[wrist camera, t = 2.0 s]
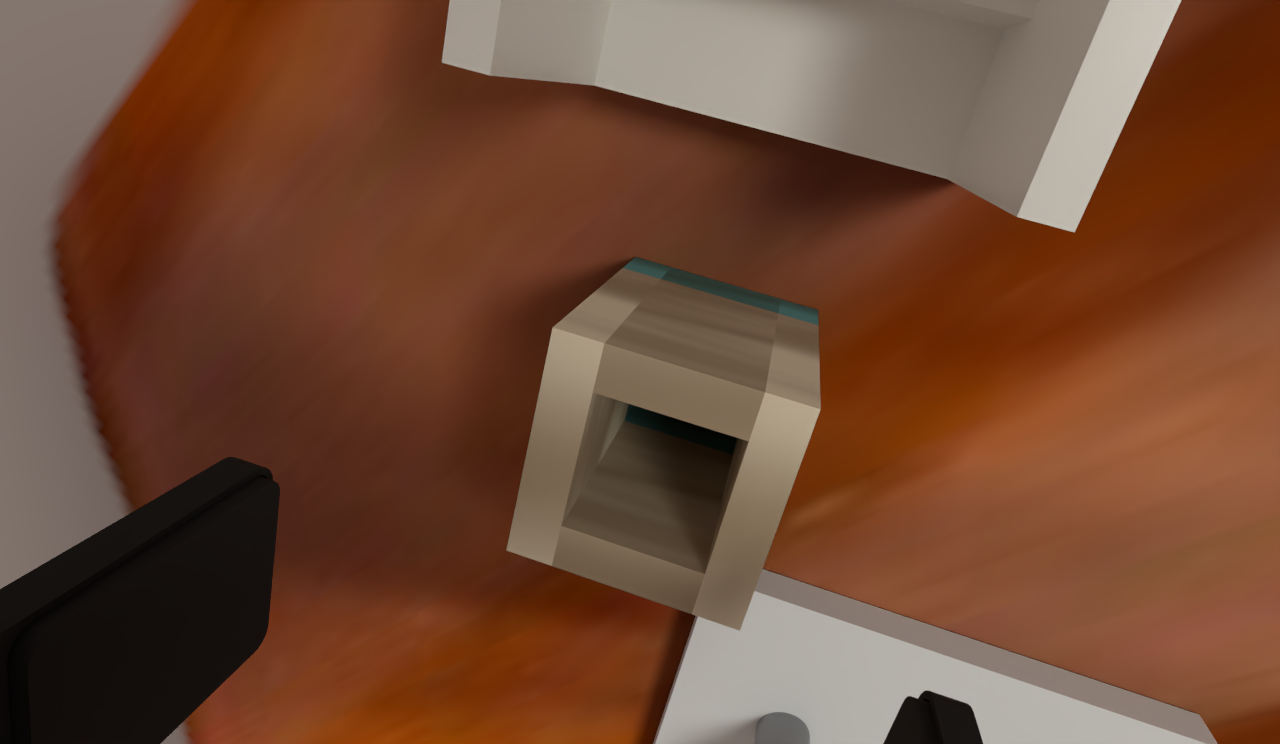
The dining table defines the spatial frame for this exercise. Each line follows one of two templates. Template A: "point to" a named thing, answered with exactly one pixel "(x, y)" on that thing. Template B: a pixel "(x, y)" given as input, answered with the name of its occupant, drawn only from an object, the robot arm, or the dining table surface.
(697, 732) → the pin board
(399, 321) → the dining table surface
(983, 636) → the dining table surface
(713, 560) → the sleeve
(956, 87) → the white stepped block
